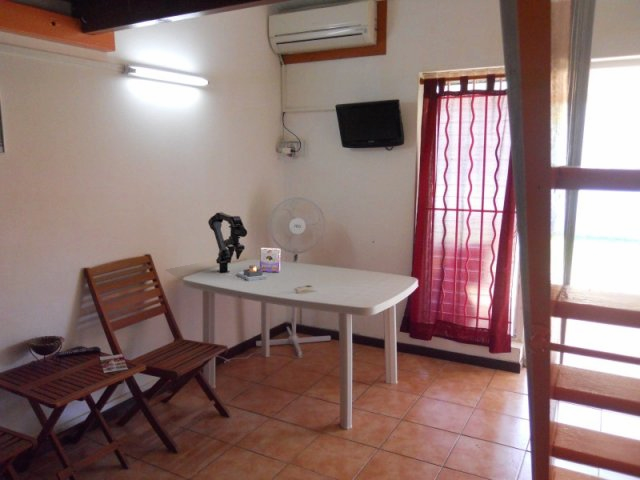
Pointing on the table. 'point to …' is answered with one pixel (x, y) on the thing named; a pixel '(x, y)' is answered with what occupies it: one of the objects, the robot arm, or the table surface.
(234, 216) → the robot arm
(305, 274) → the table surface
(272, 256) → the candy box
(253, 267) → the copper canister
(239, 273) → the grey square socket base
